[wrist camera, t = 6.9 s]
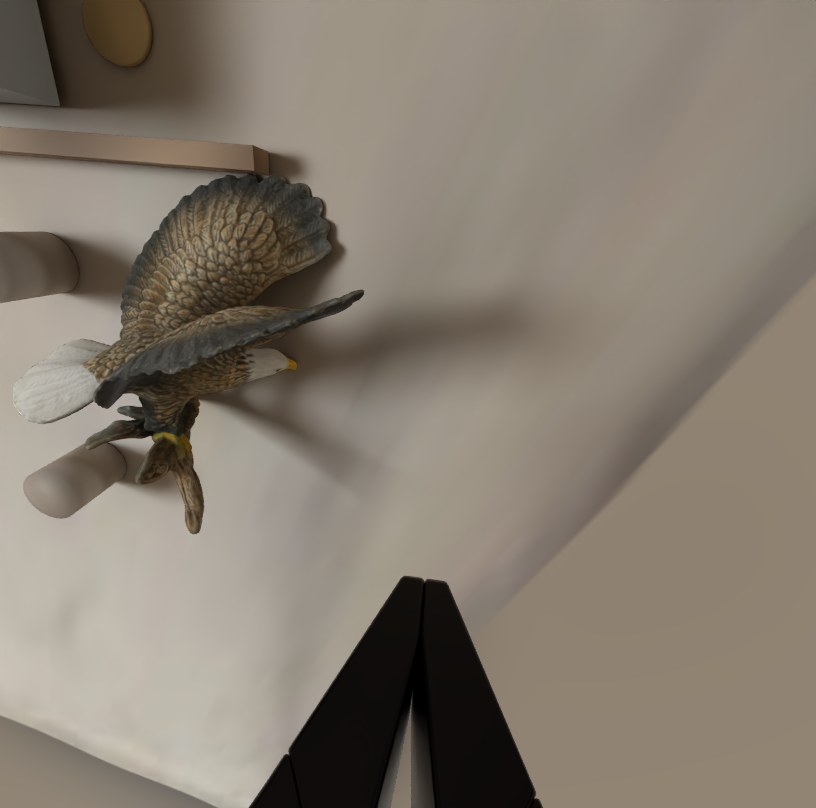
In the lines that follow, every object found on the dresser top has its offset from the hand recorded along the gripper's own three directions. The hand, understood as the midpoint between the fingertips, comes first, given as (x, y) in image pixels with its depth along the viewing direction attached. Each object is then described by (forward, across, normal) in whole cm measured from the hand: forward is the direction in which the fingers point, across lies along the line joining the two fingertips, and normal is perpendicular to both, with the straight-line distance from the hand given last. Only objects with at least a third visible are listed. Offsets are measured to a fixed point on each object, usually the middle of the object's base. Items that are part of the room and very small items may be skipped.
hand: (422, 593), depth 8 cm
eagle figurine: (+8, +7, -3) cm, 11 cm away
